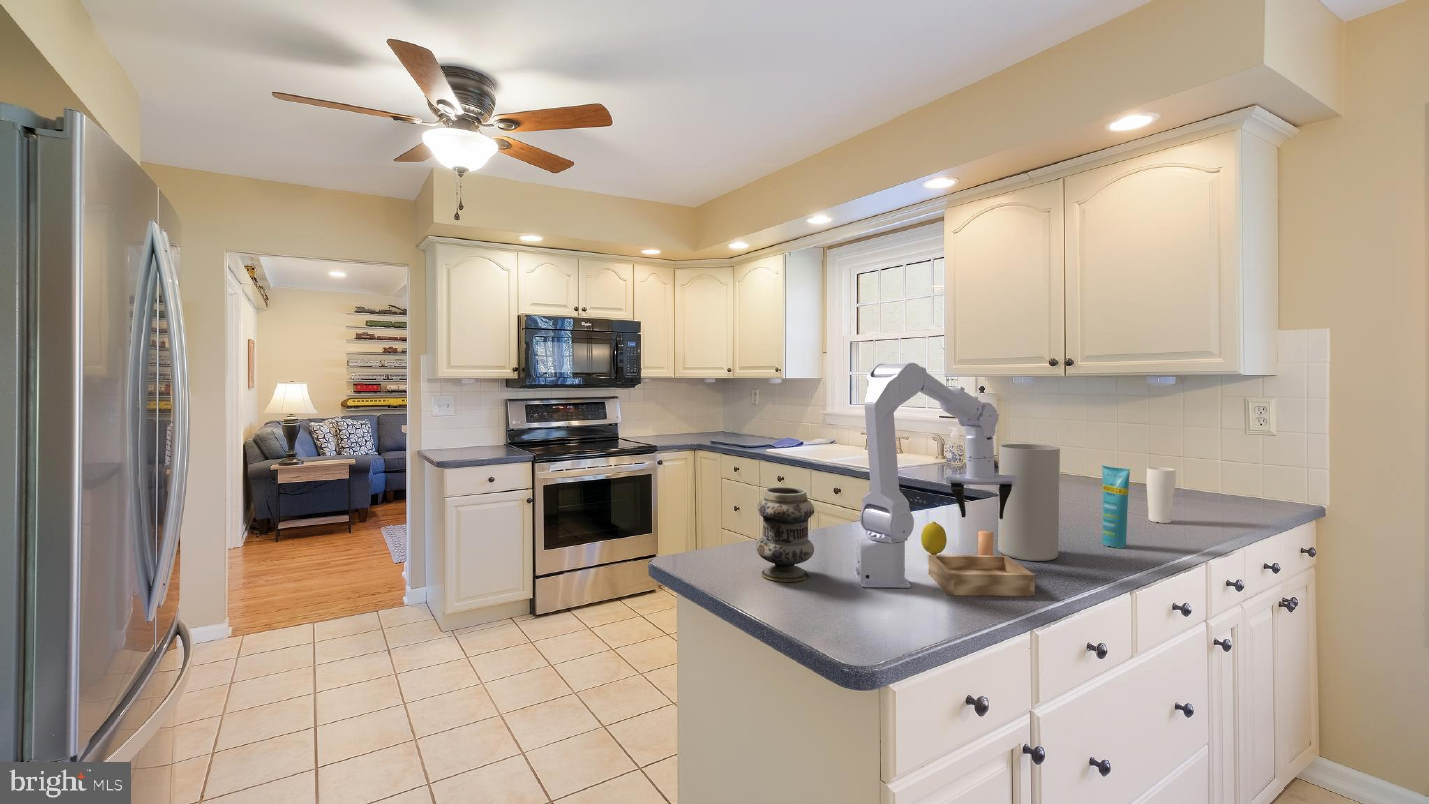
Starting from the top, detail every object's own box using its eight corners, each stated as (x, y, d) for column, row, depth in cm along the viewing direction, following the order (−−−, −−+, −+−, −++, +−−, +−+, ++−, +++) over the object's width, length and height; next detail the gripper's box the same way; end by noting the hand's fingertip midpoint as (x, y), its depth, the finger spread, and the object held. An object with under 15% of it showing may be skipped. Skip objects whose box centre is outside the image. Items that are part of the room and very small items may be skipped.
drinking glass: (1173, 520, 182) (1174, 468, 182) (1175, 525, 176) (1176, 471, 176) (1144, 518, 186) (1146, 466, 185) (1145, 522, 180) (1146, 469, 179)
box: (948, 595, 122) (948, 574, 122) (928, 573, 135) (928, 555, 135) (1034, 595, 121) (1034, 574, 121) (1006, 574, 134) (1006, 555, 134)
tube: (1093, 543, 159) (1094, 465, 158) (1106, 541, 161) (1108, 464, 160) (1122, 550, 152) (1124, 469, 151) (1136, 548, 154) (1138, 468, 153)
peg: (980, 571, 137) (981, 534, 136) (975, 567, 140) (976, 530, 139) (995, 571, 137) (995, 534, 136) (989, 567, 140) (990, 530, 139)
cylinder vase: (1017, 544, 158) (1018, 442, 157) (1068, 556, 148) (1070, 447, 147) (986, 552, 151) (988, 446, 150) (1039, 565, 141) (1040, 451, 140)
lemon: (948, 560, 145) (948, 524, 145) (922, 558, 146) (922, 523, 146) (944, 553, 151) (944, 519, 150) (919, 552, 152) (920, 518, 151)
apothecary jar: (809, 586, 127) (809, 496, 127) (750, 581, 131) (749, 493, 130) (818, 569, 139) (818, 486, 138) (763, 564, 143) (763, 483, 142)
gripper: (1016, 453, 142) (1018, 513, 143) (946, 453, 149) (949, 511, 150) (1015, 459, 136) (1018, 522, 137) (943, 458, 142) (946, 519, 143)
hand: (982, 517), depth 143 cm, fingers open, 7 cm apart
